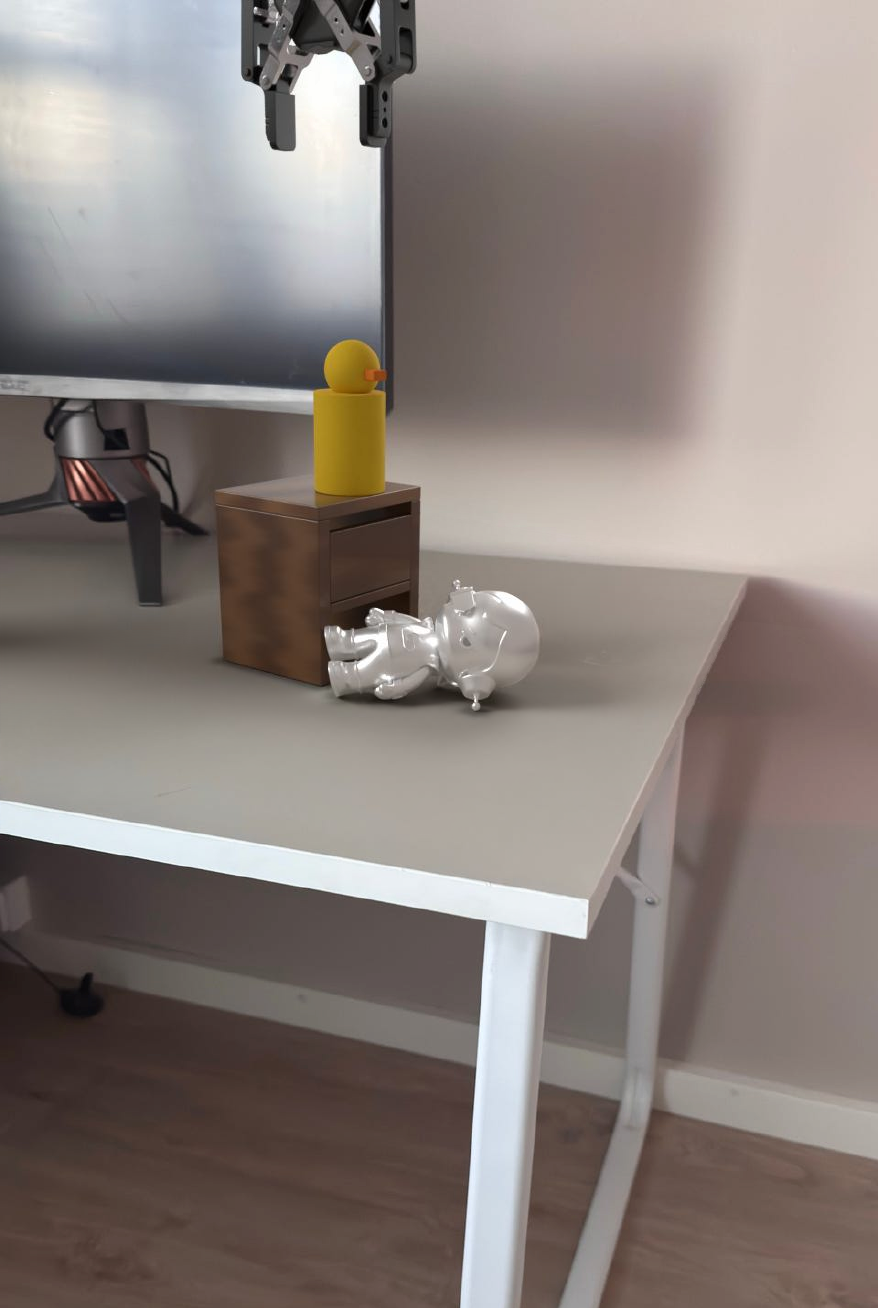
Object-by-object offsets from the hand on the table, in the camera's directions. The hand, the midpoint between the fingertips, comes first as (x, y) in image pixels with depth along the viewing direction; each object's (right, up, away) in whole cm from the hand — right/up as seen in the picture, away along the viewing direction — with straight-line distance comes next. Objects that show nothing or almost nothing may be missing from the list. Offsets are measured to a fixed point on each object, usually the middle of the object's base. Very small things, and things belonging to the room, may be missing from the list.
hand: (326, 148), depth 85 cm
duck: (+2, -24, +2) cm, 25 cm away
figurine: (+8, -40, 0) cm, 40 cm away
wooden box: (-1, -36, +8) cm, 37 cm away
